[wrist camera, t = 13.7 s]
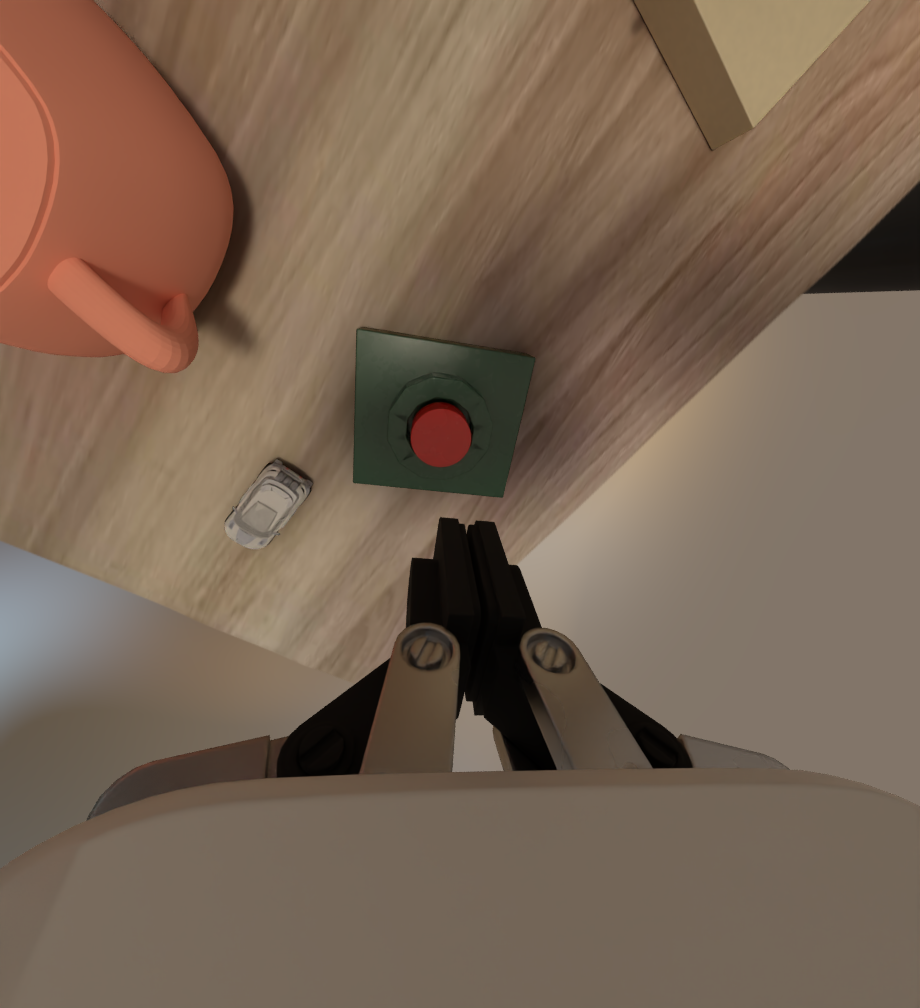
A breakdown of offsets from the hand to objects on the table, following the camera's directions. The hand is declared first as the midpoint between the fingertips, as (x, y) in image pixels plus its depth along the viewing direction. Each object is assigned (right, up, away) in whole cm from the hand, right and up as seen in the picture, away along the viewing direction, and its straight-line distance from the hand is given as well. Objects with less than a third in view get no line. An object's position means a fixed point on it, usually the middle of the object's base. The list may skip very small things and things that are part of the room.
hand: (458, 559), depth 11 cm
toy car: (-15, +2, +17) cm, 23 cm away
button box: (-2, +8, +15) cm, 17 cm away
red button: (-1, +6, +12) cm, 13 cm away
